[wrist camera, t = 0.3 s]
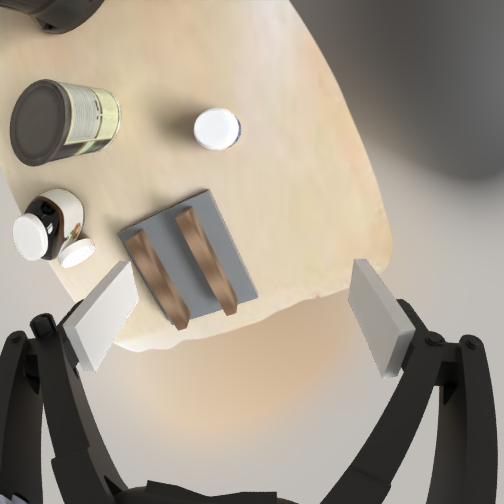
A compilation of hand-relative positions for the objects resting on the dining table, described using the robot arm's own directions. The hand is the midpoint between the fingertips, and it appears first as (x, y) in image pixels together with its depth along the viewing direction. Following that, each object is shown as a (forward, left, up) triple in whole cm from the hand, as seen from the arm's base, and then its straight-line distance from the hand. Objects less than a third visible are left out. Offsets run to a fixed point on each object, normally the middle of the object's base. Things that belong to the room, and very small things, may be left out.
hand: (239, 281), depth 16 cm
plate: (+6, -13, -25) cm, 29 cm away
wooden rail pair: (+6, -13, -24) cm, 28 cm away
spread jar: (-8, -29, -26) cm, 40 cm away
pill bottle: (-10, 0, -26) cm, 27 cm away
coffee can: (-21, -17, -26) cm, 37 cm away
